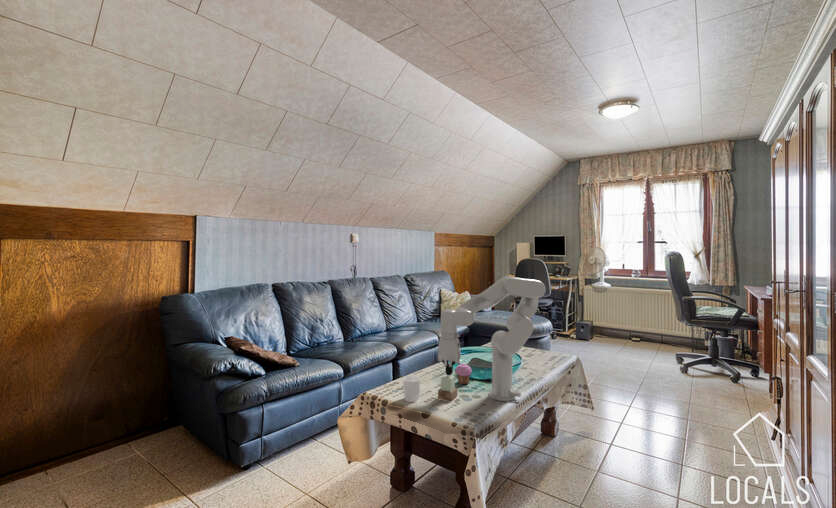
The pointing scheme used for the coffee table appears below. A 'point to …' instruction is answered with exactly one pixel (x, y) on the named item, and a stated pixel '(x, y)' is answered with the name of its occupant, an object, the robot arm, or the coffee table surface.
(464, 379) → the cupcake
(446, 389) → the sage cube
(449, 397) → the walnut base block
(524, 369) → the coffee table surface
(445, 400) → the mat
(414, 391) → the white cup
